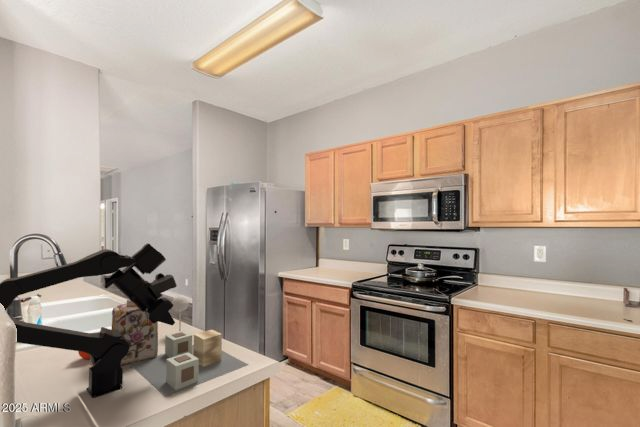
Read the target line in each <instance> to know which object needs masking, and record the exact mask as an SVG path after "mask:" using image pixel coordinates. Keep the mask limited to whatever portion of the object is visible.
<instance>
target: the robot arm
mask: <svg viewBox="0 0 640 427" xmlns="http://www.w3.org/2000/svg"><path fill="white" fill-rule="evenodd" d="M166 261H167V259H166V257H165V256H164V255H163V254H162V253H161V252H160V251H158V250H157V249H156V248H155V247H153V246H152V245H151V244H150V243H146V244H144V245H143V246H142V248H141V249H139V250H138V251H137V252H135V253H134V254H133V255H132V256H129V255H127V254H125V255H123V254H119V253H118V252H116V251H114V250H112V249H109V248H108V249H107V248H105V249H100V250H98V251H96V252H93V253H91V254H89V255H87V256H85V257H83V258H81V259H78V260H76V261H73V262H70V263H66V264H63V265H59V266H54V267H51V268H48V269H43V270H40V271H36V272H33V273H28V274H25V275H21V276H17V277H10V278H6V279H4V280H2V281H1V282H0V303H1V304H2V305H3V306H4V308H5V310H6V311H7V309H8V308H9V307H10V306H11V304H12V303H13V302H14V300H15V299H16V298H17V297H19V296H21V295H25V294H28V293H32V292H35V291H38V290H41V289H45V288H49V287H52V286H56V285H58V284H61V283H65V282H68V281H69V282H70V281H72V280H76V279H80V278H86V277H96V276H97V277H98V276H103V275H109V274H111V275H109V276H103V278H102V279H103V284H102V286H103V288H104V289H105V290H106V289H108V288H109V287H111V286H112V285H113V286H115V287H116V289H118V290H119V291H120V292H121V293H122V294H123V295H124V296H125V297H127V299H130V300H131V301H132V302H133V303H134V304H135V305H136V306H137V307H138V308H139V309H140V310H141V311H143V312H144V311H145V310H147V311H146V313H145V314H146V317H147V318H148V319H149V320H150V321H151V322H152V323H156V322H157V321H158V323H162V324H166V325H170V326H174V325H175V324H176V322H175V320H174V318H173V316H172V315H171V313H170V312H169V311H170V310H171V309H173V308H172V307H173V304H172V301H171V300H169V299H168V298H167V297H162V296H163V293H165V292H167V291H170V290H171V289H175V288H176V287H177V286H178V284H177V282H176V280H175V278H174V277H175V276H174V275H172V274H165V275H164V274H163V273H161V272H159V273H157V274H155V276H154V277H155V279H153V281H152V282H149V281H148V280H145V278H143V277H142V276H141V275H140V274H139V273H141V274H142V275H144V274H146V275H147V274H148V275H150V274H152V273H153V272H154V271H155V270H156V269H158V267H160V266H161V265H162V264H163V263H165V262H166ZM122 268H123V269H122ZM134 268H135V269H136V270H135V269H134ZM121 269H122V270H121ZM137 271H138V272H139V273H138V272H137ZM9 316H10V318H11V319H12V320H13V321H14V323H15V325H16V328H17V342H15V343H18V344H25V345H32V346H39V347H47V348H53V349H62V350H69V351H74V352H75V351H76V352H78V351H81V352H86V353H88V354H90V359H91V360H90V363H91V364H92V366H89V367H88V387H86V389H85V390H86V392H88V394H89V395H90V397H91V398H92V399H95V398H98V397H101V396H104V395H107V394H109V393H113V392H116V391H118V390H121V389H123V386H122V385H123V383H124V382H123V380H124V378H123V376H124V368H123V367H122V365H121V361H122V359H123V358H124V357H125V356H126V355H127V353H128V351H129V344H128V342H127V340H126V339H125V337H124V336H123V334H121V333H120V332H119V331H118V329H116V330H112V329H110V328H106V327H104V326H102V327H101V328H100V329H99V330H100V331H99V332H93V333H91V332H83V331H77V330H74V329H73V330H71V329H67V328H61V327H56V326H49V325H43V324H37V323H31V322H27V321H26V322H25V321H22V320H20V319H17V318H15V317H13V316H11V315H9Z"/></svg>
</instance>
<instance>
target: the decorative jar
mask: <svg viewBox="0 0 640 427" xmlns="http://www.w3.org/2000/svg"><path fill="white" fill-rule="evenodd" d="M146 311H147V310H145V311H144V312H143V311H141V310H140V309H139V308H138V307H137V306H136V305H135V304H134V303H133V302H132V301H131V300H130V299H129V298H127V299H126V303H123V304H119V305H116V306H114V307H113V308H112V312H111V318H112V319H111V330H116V329H118V331H119V332H120V333H121V334H123V336H124V337H125V339H126V340H127V342H128V344H129V351H128V353H127V355H126V356H125V357H124V358H123V359H122V361H121V366H123V365H126V364H131V363H135V362H138V361H141V360H145V359H149V358H153V357H157V356H158V355H159V354H158V352H159V321H157V322H156V323H152V322H151V321H150V320H149V319H148V318H147V317H146V314H145V313H146Z"/></svg>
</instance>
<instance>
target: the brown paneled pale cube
mask: <svg viewBox="0 0 640 427" xmlns="http://www.w3.org/2000/svg"><path fill="white" fill-rule="evenodd" d="M164 338H165V339H164V354H166V355H167V356H168V357H170V358H172V357H175V356H178V355H181V354H185V353H188V352H189V353H190V354H192V345H193V335H192V333H189V332H188V331H185V330H181V331H180V332H179V331H177V332H173V333H169V334H166V335H165V337H164Z"/></svg>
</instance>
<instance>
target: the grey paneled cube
mask: <svg viewBox="0 0 640 427" xmlns="http://www.w3.org/2000/svg"><path fill="white" fill-rule="evenodd" d="M198 372H199V359H198V358H197V357H195V356H193V355H192V354H190V353H189V352H188V353H185V354H181V355H178V356H175V357H172V358H168V359H166V382H167V383H168V384H169V385H170V386H171V387H173V388H174V389H175V390H177V389H180V388H183V387H185V386H188V385H190V384H193V383H196V382H198Z"/></svg>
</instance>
